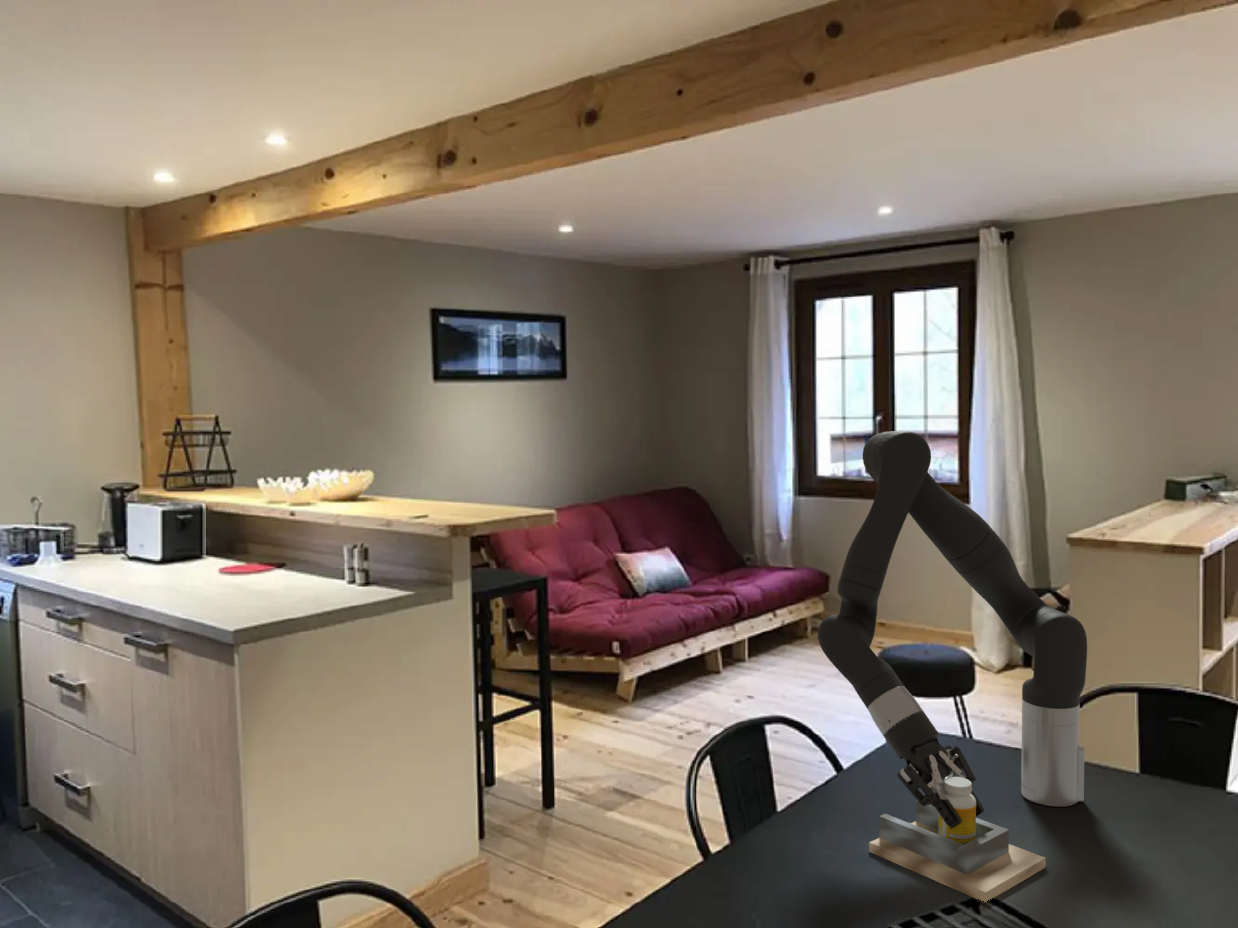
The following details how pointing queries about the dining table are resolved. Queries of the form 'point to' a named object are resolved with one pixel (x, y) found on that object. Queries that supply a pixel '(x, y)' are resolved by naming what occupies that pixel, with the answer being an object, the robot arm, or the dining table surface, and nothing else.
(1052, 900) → the dining table surface
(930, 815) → the tray
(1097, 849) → the dining table surface
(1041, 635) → the robot arm
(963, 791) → the supplement bottle
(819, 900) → the dining table surface
